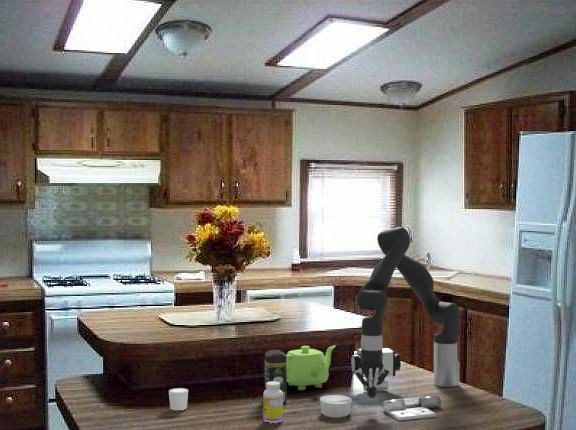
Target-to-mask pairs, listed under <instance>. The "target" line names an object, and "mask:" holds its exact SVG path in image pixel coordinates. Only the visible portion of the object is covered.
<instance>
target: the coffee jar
mask: <svg viewBox="0 0 576 430" xmlns="http://www.w3.org/2000/svg"><path fill="white" fill-rule="evenodd" d="M286 355H287V354H286V353H285V352H284V351H281V350H280V349H271V350H270V349H269V350H268V351H266V352H265V353H264V391H265V390H267V387H266V383H267V382H271V381H276V382H280V388H279V389H280V390H281V391H282V392H283V404H284V403H287V400H288V392H287V391H288V390H287V383H288V382H287V374H286V368H287V358H286V357H287V356H286Z"/></svg>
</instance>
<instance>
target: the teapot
mask: <svg viewBox="0 0 576 430" xmlns="http://www.w3.org/2000/svg"><path fill="white" fill-rule="evenodd" d="M336 347H337V345H331V346H329V347H327V349H326V352H325V355H324V352H322V351H321V350H318V349H315V348H311V347H310V346H309V345H302V346H300V349H292V350H289V351H288V352H287V354H285V355H286V356H287V357H286V358H287V368H286V374H287V383H288V386H289V387H290V386H292V387H293V386H294V387H295V386H297V391H305V390H306V388H307V386H314V388H316V389H322V388H323V384H325V383H326V382H327V381H328V378H329V374H330V372H329V368H330V366H331V361H332V352H333V350H334V349H335V348H336Z"/></svg>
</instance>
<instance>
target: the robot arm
mask: <svg viewBox="0 0 576 430" xmlns="http://www.w3.org/2000/svg"><path fill="white" fill-rule="evenodd" d="M377 244H378V246H379V249H380V250H381V252H382V253H383V254H384V257H383V258H381V260H379V262H378V263H376V265H375V267H374V268H373V269H372V272H371V275H370V277H369V279H368V281H366V283H365V284H364V285H363V286H362V287H361V288H360V290H359V291H358V294H357V296H356V305H357V306H358V308H359V309H360V310H363V311H364V310H365V311H374V312H375V313H374V314H373V315H372V316H371V315H370V316H365V317H363V318H362V319H361V337H360V349H361V364H360V368H359V369H358V370H357V371H354V372H353V374H354V375H355V376H356V378H357V379H358V381H359V382H360V383H361V384H362V386H363V385H365V386H367V391H366V395H367V397H368V398H370V399H374V398H376V396H377V392H376V386H378V385H381V384H382V382H383V381H384V380H386V378H387V377H386V376H387V375H388V373H389V370H387V369H385V368H384V366H383V363H382V361H383V348H384V345H383V343H384V341H383V340H384V339H383V320H384V316H385V313H386V309H387V305H388V302H389V300H388V299H389V298H388V295H387V293H386V291H387V289H388V288H389V285H390V283H391V279H392V277H393V275H394V272H395V271H396V270H397V271H398V272H399V273H400V274H401V275H402V277H403V279H404V281H406V283H407V284H408V285H409V287H410V288H411V290H412V291H413V293H415V296H417V298H418V299H419V301H420V302H421V304H422V306H423V308H424V309H425V311H426V313H427V315H428V317H429V318H430V320H431V321H432V322H433V323H435V324H436V325H441V326H443V327H442V331H441V332H438V333H435V334H434V336H433V384H434V385H435V386H436V387H439V388H440V387H443V388H454V387H457V386H460V361H459V360H458V339H459V336H460V323H461V311H460V308H459V306H458V305H457V304H456V303H454V302H448V301H447V302H446V301H441V300H440V298H438V297H437V295H436V294H435V292H434V286H435V285H434V283H435V281H434V278H433V277H432V275H431V273H430V272H429V270H428V269H427V267H426V266H425V265H424V264H422V263H421V262H420V261H417V260H415V259H413V258H411V257H410V256H407V255H406V253H407V251H408V249H410V244H411V235H410V232H409V231H408V230H407V229H406V228H405V227H402V226H399V227H394V228H390V229H386V230H385V229H384V230H382V231H380V232H378V234H377ZM362 372H363V373H364V375H365V377H362ZM380 372H381V374H380ZM379 374H380V375H379ZM378 375H379V377H378Z"/></svg>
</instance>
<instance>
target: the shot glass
mask: <svg viewBox="0 0 576 430" xmlns="http://www.w3.org/2000/svg"><path fill="white" fill-rule="evenodd" d="M168 396H169V397H168V399H169V406H170V407H169V409H172V410H184V409H186V408H187V407H188V400H189V399H188V397H189V389H187V388H184V387H178V388H172V389H171V388H170V389H169V390H168ZM187 409H188V408H187Z"/></svg>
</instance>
